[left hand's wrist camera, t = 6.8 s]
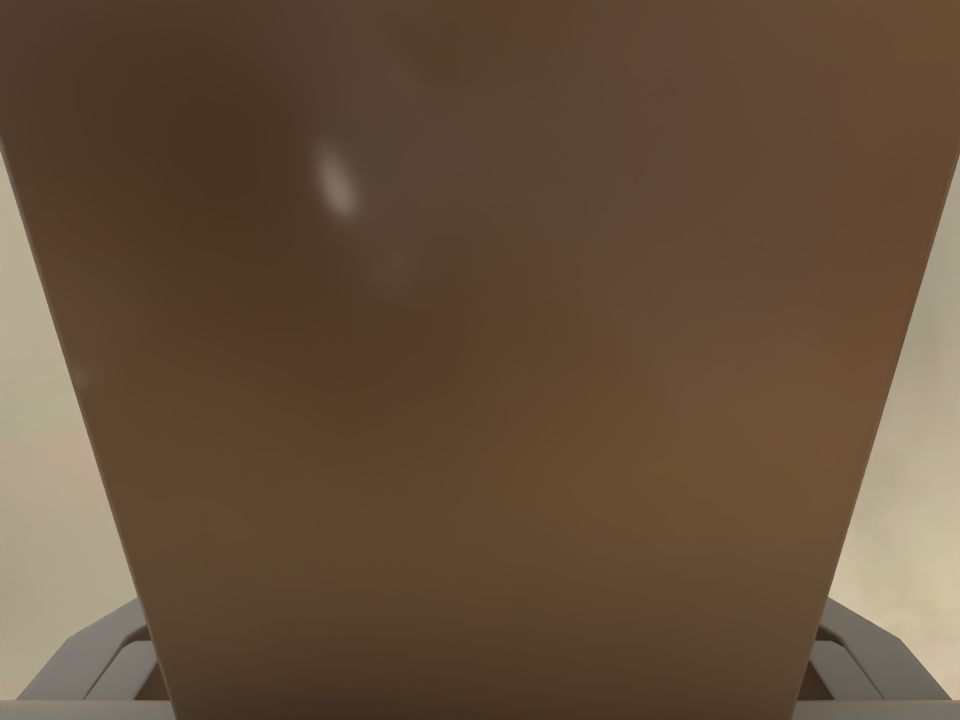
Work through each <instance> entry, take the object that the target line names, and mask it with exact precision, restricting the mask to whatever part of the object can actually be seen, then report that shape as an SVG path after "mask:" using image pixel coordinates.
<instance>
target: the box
mask: <svg viewBox="0 0 960 720" xmlns="http://www.w3.org/2000/svg"><path fill="white" fill-rule="evenodd" d="M0 150H1V153H2V157H3V160H4V163H5V166H6V170H7V173H8V176H9V179H10V183H11V186H12V189H13V192H14V196H15V199H16V202H17V205H18V209H19V212H20V215H21V218H22V222H23V225H24V228H25V231H26V235H27V238H28V241H29V244H30V248H31V251H32V254H33V257H34V261H35V264H36V267H37V270H38V274H39V277H40V280H41V283H42V287H43V290H44V293H45V296H46V300H47V303H48V306H49V309H50V313H51V316H52V319H53V322H54V326H55V329H56V332H57V335H58V339H59V342H60V345H61V348H62V352H63V355H64V358H65V361H66V365H67V368H68V371H69V374H70V378H71V381H72V384H73V387H74V391H75V394H76V397H77V400H78V404H79V407H80V410H81V413H82V417H83V420H84V423H85V426H86V430H87V433H88V436H89V439H90V443H91V446H92V449H93V452H94V456H95V459H96V462H97V465H98V469H99V472H100V475H101V478H102V482H103V485H104V488H105V491H106V495H107V498H108V501H109V504H110V508H111V511H112V514H113V517H114V521H115V524H116V527H117V530H118V534H119V537H120V540H121V543H122V547H123V550H124V553H125V556H126V559H127V563H128V566H129V569H130V572H131V576H132V579H133V582H134V585H135V589H136V592H137V595H138V598H139V602H140V605H141V608H142V611H143V615H144V618H145V621H146V624H147V628H148V631H149V634H150V637H151V641H152V644H153V647H154V650H155V654H156V657H157V660H158V663H159V667H160V670H161V673H162V676H163V680H164V683H165V686H166V689H167V693H168V696H169V699H170V702H171V706H172V709H173V712H174V715H175V719H176V720H791V718H792V715H793V711H794V708H795V705H796V701H797V698H798V695H799V691H800V688H801V685H802V681H803V678H804V675H805V671H806V668H807V664H808V661H809V658H810V654H811V651H812V648H813V644H814V641H815V638H816V634H817V631H818V628H819V624H820V621H821V618H822V614H823V611H824V607H825V604H826V601H827V597H828V594H829V591H830V587H831V584H832V581H833V577H834V574H835V571H836V567H837V564H838V561H839V557H840V554H841V550H842V547H843V544H844V540H845V537H846V534H847V530H848V527H849V524H850V520H851V517H852V514H853V510H854V507H855V503H856V500H857V497H858V493H859V490H860V487H861V483H862V480H863V477H864V473H865V470H866V467H867V463H868V460H869V457H870V453H871V450H872V446H873V443H874V440H875V436H876V433H877V430H878V426H879V423H880V420H881V416H882V413H883V410H884V406H885V403H886V400H887V396H888V393H889V389H890V386H891V383H892V379H893V376H894V373H895V369H896V366H897V363H898V359H899V356H900V353H901V349H902V346H903V342H904V339H905V336H906V332H907V329H908V326H909V322H910V319H911V316H912V312H913V309H914V306H915V302H916V299H917V296H918V292H919V289H920V285H921V282H922V279H923V275H924V272H925V269H926V265H927V262H928V259H929V255H930V252H931V249H932V245H933V242H934V239H935V235H936V232H937V228H938V225H939V222H940V218H941V215H942V212H943V208H944V205H945V202H946V198H947V195H948V192H949V188H950V185H951V182H952V178H953V175H954V171H955V168H956V165H957V161H958V158H959V155H960V0H0Z"/></svg>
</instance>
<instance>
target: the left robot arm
mask: <svg viewBox="0 0 960 720" xmlns="http://www.w3.org/2000/svg"><path fill="white" fill-rule="evenodd" d="M0 720H176V719H175V715H174V712H173V709H172V706H171V702H170V699H169V696H168V693H167V689H166V686H165V683H164V680H163V676H162V673H161V670H160V667H159V663H158V660H157V657H156V654H155V650H154V647H153V644H152V641H151V637H150V634H149V631H148V628H147V624H146V621H145V618H144V615H143V611H142V608H141V605H140V602H139V598H138V597H137V598H135V599H134V600H132V601H130V602H129V603H127V604H125V605H124V606H122V607H120V608H118V609H117V610H115V611H113V612H112V613H110V614H108V615H107V616H105V617H103V618H102V619H100V620H98V621H96V622H95V623H93V624H91V625H90V626H88V627H86V628H85V629H83V630H81V631H80V632H78V633H76V634H74V635H73V636H71V637H69V638H68V639H67V640H66V641H65V643H64V644H63V645H62V646H61V647H60V648H59V650H58V651H57V652H56V653H55V654H54V656H53V657H52V658H51V659H50V660H49V661H48V663H47V664H46V665H45V666H44V667H43V668H42V670H41V671H40V672H39V673H38V674H37V676H36V677H35V678H34V679H33V680H32V681H31V683H30V684H29V685H28V686H27V687H26V688H25V690H24V691H23V692H22V693H21V694H20V696H19V697H18V698H17V699H16V700H0ZM791 720H960V700H952V699H951V698H950V697H949V696H948V694H947V693H946V692H945V691H944V690H943V689H942V687H941V686H940V685H939V684H938V683H937V682H936V680H935V679H934V678H933V677H932V676H931V675H930V673H929V672H928V671H927V670H926V669H925V668H924V666H923V665H922V664H921V663H920V662H919V661H918V659H917V658H916V657H915V656H914V655H913V654H912V652H911V651H910V650H909V649H908V648H907V647H906V645H905V644H904V643H903V642H902V641H901V640H900V639H899V638H897V637H896V636H894V635H892V634H890V633H889V632H887V631H885V630H884V629H882V628H880V627H879V626H877V625H875V624H873V623H872V622H870V621H868V620H867V619H865V618H863V617H862V616H860V615H858V614H856V613H855V612H853V611H851V610H850V609H848V608H846V607H845V606H843V605H841V604H839V603H838V602H836V601H834V600H833V599H831V598H829V597H827V601H826V604H825V607H824V611H823V614H822V618H821V621H820V624H819V628H818V631H817V634H816V638H815V641H814V644H813V648H812V651H811V654H810V658H809V661H808V664H807V668H806V671H805V675H804V678H803V681H802V685H801V688H800V691H799V695H798V698H797V701H796V705H795V708H794V711H793V715H792V718H791Z"/></svg>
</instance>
